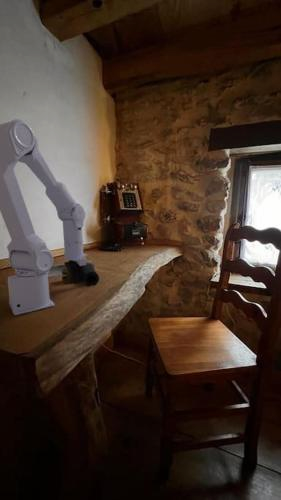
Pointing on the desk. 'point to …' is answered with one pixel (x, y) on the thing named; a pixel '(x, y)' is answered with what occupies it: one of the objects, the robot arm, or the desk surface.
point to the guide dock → (57, 269)
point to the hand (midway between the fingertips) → (75, 283)
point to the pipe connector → (83, 275)
